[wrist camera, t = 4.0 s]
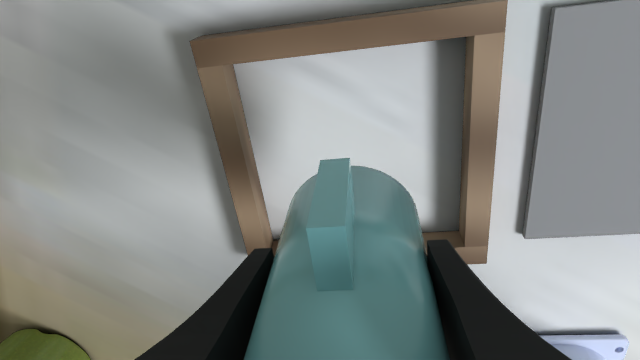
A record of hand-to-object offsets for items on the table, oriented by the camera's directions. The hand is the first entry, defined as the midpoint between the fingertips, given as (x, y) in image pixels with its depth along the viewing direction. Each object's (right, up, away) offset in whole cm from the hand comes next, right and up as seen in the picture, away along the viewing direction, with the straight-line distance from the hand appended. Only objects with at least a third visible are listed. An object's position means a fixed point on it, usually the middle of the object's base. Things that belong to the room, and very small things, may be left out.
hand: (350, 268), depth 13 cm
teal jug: (0, +1, +2) cm, 2 cm away
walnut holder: (+1, +4, +8) cm, 9 cm away
